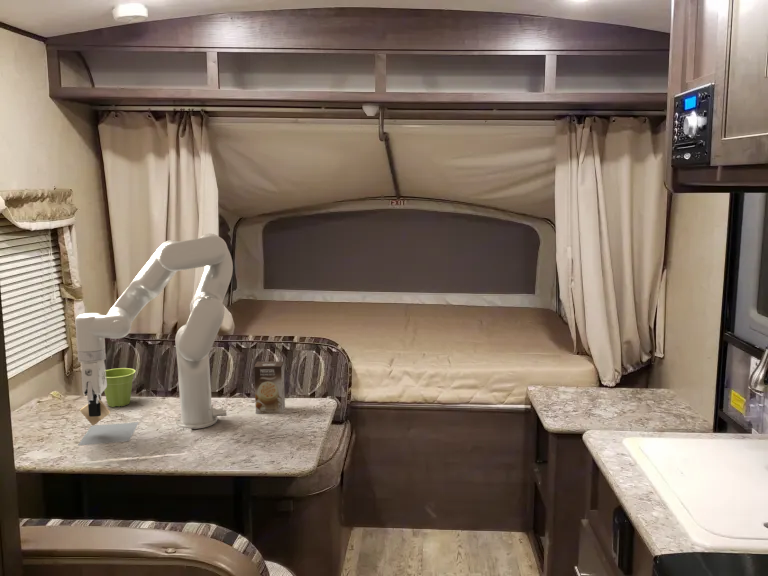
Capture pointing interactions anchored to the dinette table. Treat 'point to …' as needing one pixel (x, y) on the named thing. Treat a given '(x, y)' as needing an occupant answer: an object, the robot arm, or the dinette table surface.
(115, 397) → the plant pot
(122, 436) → the mat
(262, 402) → the coffee box
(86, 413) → the tile
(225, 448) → the dinette table surface
